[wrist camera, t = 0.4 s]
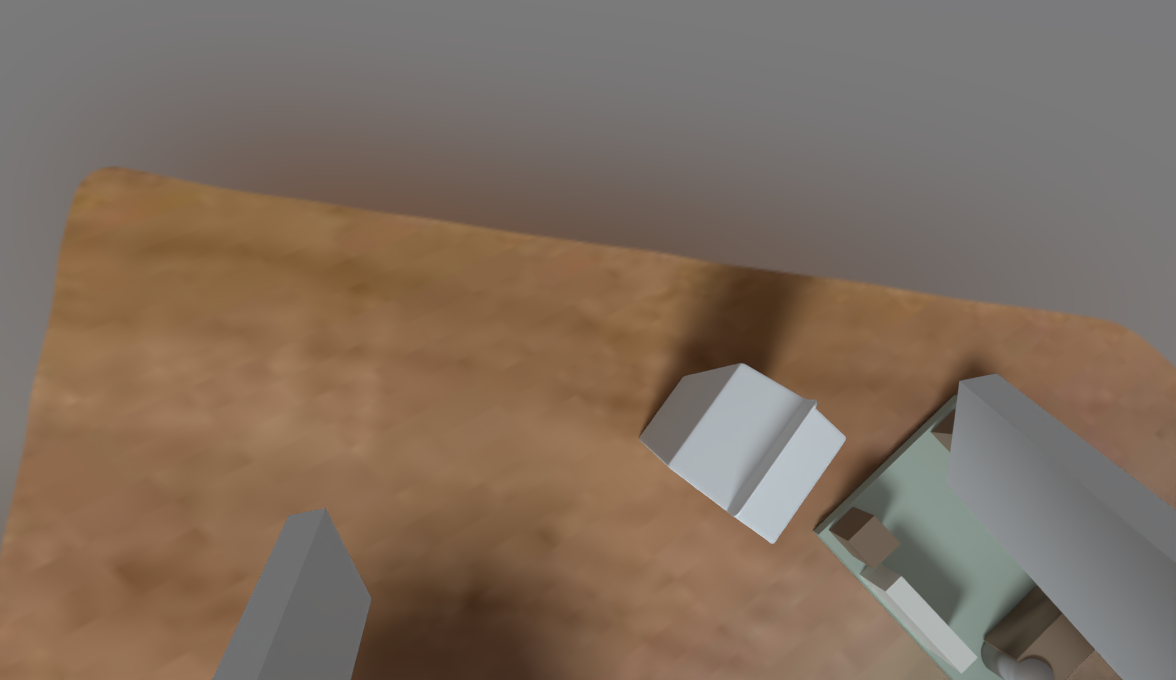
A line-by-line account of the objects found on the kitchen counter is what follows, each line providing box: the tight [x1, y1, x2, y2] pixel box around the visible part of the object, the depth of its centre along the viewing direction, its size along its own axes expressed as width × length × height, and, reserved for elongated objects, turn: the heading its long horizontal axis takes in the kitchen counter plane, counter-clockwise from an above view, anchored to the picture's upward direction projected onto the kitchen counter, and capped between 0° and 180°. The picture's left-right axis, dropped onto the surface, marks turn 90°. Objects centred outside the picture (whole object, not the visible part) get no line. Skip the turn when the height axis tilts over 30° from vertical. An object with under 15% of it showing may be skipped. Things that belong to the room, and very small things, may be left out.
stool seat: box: [813, 395, 1037, 680], centre depth 44 cm, size 17×15×5 cm
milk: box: [639, 363, 846, 544], centre depth 36 cm, size 6×6×22 cm
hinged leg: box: [981, 585, 1095, 680], centre depth 43 cm, size 12×3×4 cm, turn 133°
